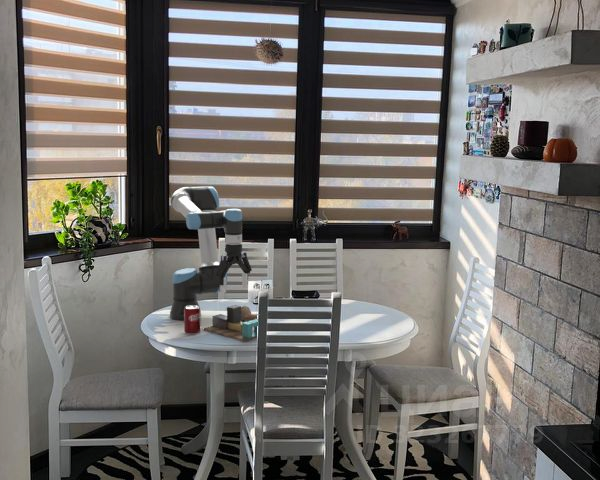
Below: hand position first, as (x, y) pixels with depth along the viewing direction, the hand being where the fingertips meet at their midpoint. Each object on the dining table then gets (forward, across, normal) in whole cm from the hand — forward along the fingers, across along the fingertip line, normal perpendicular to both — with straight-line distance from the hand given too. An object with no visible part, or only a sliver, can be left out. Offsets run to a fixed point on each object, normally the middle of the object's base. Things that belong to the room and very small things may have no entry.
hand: (234, 289), depth 339 cm
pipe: (+20, +21, +8) cm, 31 cm away
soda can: (+20, -13, +14) cm, 28 cm away
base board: (+20, 0, 0) cm, 20 cm away
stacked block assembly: (+19, 0, -1) cm, 19 cm away
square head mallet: (+18, 0, +3) cm, 18 cm away
